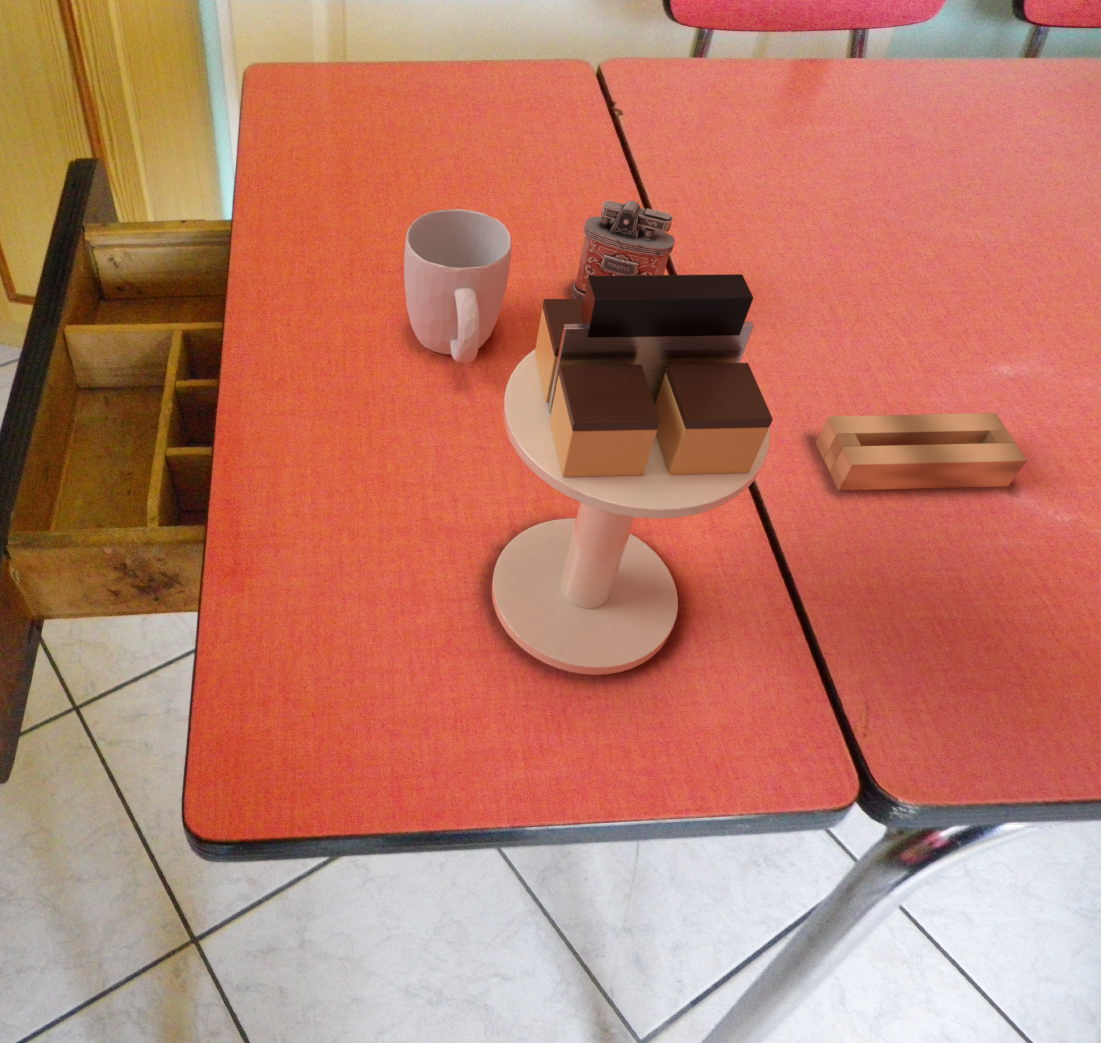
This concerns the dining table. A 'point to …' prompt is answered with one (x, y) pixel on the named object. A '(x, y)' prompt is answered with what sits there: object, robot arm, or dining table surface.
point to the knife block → (919, 451)
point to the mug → (455, 279)
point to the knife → (658, 323)
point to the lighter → (624, 243)
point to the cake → (647, 411)
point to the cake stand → (594, 549)
